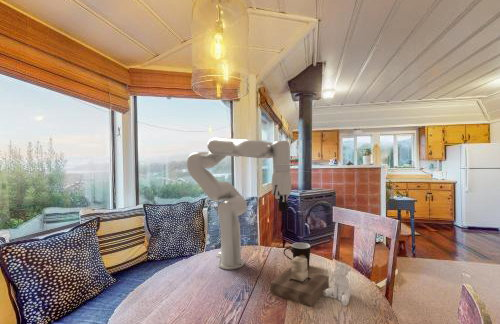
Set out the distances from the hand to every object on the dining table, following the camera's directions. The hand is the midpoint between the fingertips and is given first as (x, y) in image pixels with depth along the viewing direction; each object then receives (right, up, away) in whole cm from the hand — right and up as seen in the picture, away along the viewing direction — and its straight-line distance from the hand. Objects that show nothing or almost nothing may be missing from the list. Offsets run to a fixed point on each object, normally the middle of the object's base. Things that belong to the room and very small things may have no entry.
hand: (283, 210), depth 108 cm
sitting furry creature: (+17, -27, -21) cm, 38 cm away
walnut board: (+4, -27, -16) cm, 31 cm away
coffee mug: (+8, -27, +6) cm, 29 cm away
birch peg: (+4, -27, -16) cm, 31 cm away
